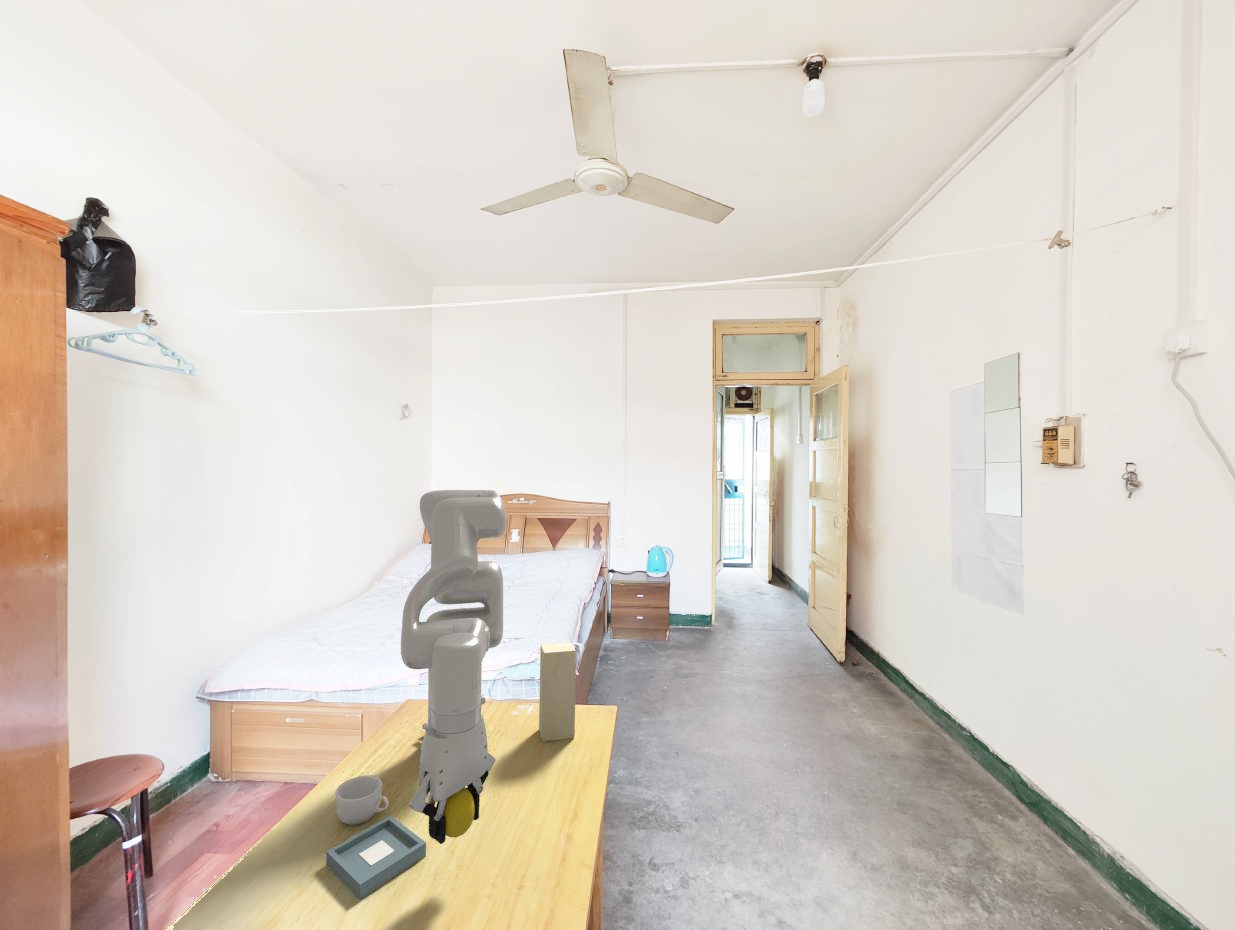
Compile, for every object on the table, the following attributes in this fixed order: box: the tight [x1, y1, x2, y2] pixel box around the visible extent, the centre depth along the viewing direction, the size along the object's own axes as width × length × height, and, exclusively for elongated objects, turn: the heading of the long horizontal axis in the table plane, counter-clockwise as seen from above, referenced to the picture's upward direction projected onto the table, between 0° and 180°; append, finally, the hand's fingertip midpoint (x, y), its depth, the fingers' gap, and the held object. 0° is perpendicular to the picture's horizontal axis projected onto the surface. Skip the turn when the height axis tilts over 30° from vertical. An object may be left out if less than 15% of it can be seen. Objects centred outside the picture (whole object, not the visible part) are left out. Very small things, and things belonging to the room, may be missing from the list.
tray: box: [325, 815, 427, 900], centre depth 85 cm, size 11×11×2 cm
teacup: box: [334, 774, 390, 826], centre depth 96 cm, size 10×8×5 cm
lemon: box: [443, 787, 475, 839], centre depth 82 cm, size 6×6×8 cm
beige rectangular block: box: [538, 641, 577, 742], centre depth 127 cm, size 8×7×21 cm
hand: (454, 825), depth 82 cm, fingers closed on lemon, 5 cm apart
